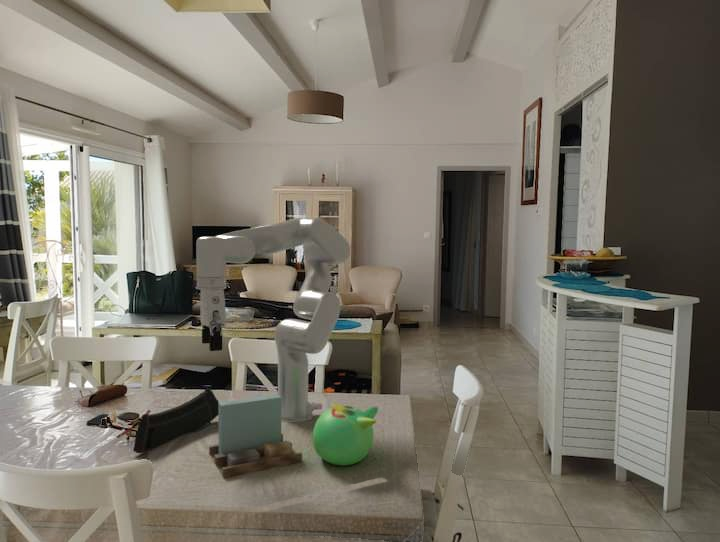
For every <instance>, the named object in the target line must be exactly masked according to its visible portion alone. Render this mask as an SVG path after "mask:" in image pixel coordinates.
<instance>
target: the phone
mask: <svg viewBox="0 0 720 542" xmlns="http://www.w3.org/2000/svg"><path fill="white" fill-rule="evenodd" d="M108 415H109V414H107V413H103V414H102V413H101V414H98V415H97V416H95V417H93V418H91V419H89V420H87V421H86V426H90V425H96V426H95V427H100V426H99V425H100V424H101V419H102V418H105V417H107V416H108Z"/></svg>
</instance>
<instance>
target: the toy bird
mask: <svg viewBox="0 0 720 542" xmlns="http://www.w3.org/2000/svg"><path fill="white" fill-rule="evenodd" d="M331 406H332V407H331V408H328V409H326V410H325V411H323V412H322V413H321V415H320V416H319V417H318V418H317V420H316V422H315V423H314V426H313V427H314V428H313V432H312V443H313V447H314V449H315V452H316V454H317V455H318V457H320V458H322V459H323V460H324V461H325V462H327V463H330V464H331V465H335V466H343V467H344V466H351V465H354V464H357V463H358V462H361V461H362V460H363V459H364V458H365V457H366V456H367V455H368V453H369V452H370V450H371V448H372V446H373V442H374V436H375V435H374V434H375V432H374V427H373V425H375V424H377V420H376V419H375V417H376V415H377V413H378V411H379V407H378V406H376V405H375V406H373V407H371V408H368V409H366V410H364V411H362V410H360V409H359V408H357V407H353V406H350V405H341V404H338V403H331Z"/></svg>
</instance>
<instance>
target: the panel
mask: <svg viewBox="0 0 720 542" xmlns="http://www.w3.org/2000/svg"><path fill="white" fill-rule="evenodd" d="M217 417H218V425H217V426H218V444H219V454H222V453H227V452H233V451H238V450H243V449H249V448H254V447H260V446H264V445H267V444H272V443H277V442H281V433H282V421H281V396H279V395H278V393H277V394H269V395H261V396H260V395H259V396H255V397H246V398H240V399H233V400H225V401H218V416H217Z"/></svg>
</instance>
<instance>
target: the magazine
mask: <svg viewBox="0 0 720 542" xmlns="http://www.w3.org/2000/svg"><path fill="white" fill-rule="evenodd" d="M218 402H219V400H218V399H217V397H216V395H215V394H214V391H213V390H212V389H211V388H208V387H207V388H205V389H204V391H203V392H201V393H198V395H196V396H195V397H193V398H192V399H190V400H188V401H186V402H184V403H182V404H180V405H178V406H174V407H173V408H169V409H166V410H164V411H161V412H157V413H151V414H145V413H144V414H142V415H141V417H142V419H141V421H140V422H139V424H138V425H137V431H136V435H135V439H134V444H133V452H135V453H136V454H144V453H145V452H149V451H153V450H154V449H156V448H158V447H160V446H163V445H165V444H167V443H168V442H169V443H170V442H171V441H173V440H176V439H178V438H179V437H182V436H184V435H186V434H192V433H196V432H198V431H199V430H201V429H202V428H203V427H205V426H206V425H207V424H208V423H209V424H208V425H210V424H212V421H213V420H215V418H216V417H218Z"/></svg>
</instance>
